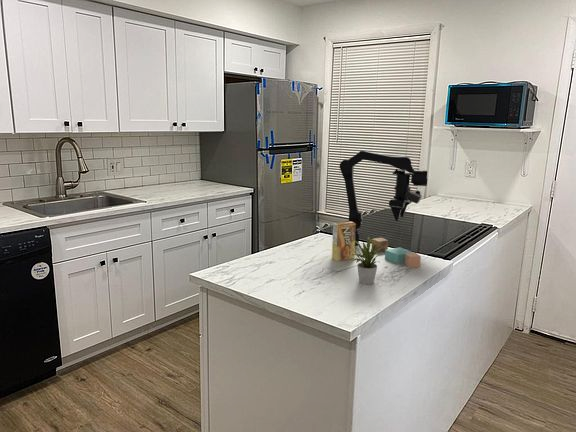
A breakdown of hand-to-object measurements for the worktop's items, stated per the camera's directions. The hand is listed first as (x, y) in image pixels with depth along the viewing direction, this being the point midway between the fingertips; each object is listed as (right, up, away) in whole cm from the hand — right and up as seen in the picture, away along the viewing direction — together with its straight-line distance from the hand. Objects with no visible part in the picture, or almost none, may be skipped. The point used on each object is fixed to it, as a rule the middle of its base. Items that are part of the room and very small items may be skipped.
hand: (399, 219), depth 199 cm
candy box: (-27, -17, -14) cm, 35 cm away
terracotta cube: (-1, -19, -22) cm, 29 cm away
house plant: (-23, -22, -39) cm, 50 cm away
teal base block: (-4, -17, -15) cm, 23 cm away
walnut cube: (-10, -14, -3) cm, 17 cm away
